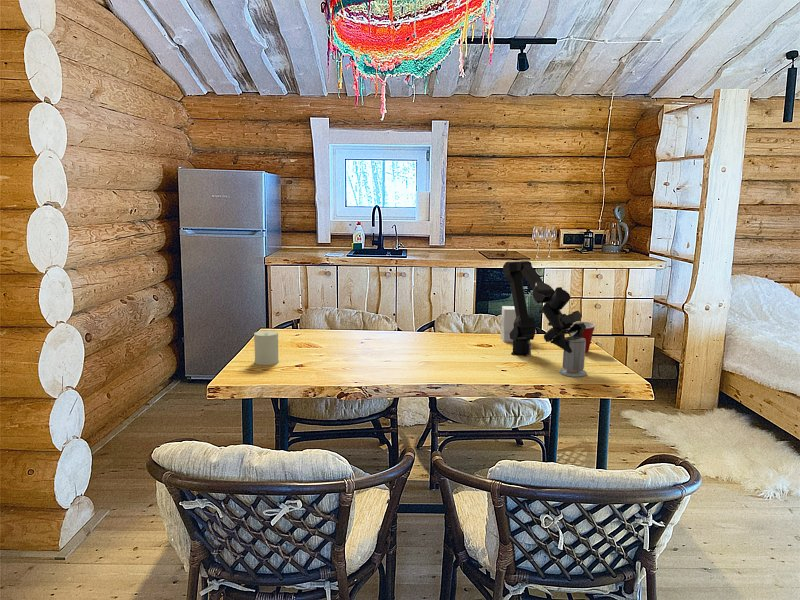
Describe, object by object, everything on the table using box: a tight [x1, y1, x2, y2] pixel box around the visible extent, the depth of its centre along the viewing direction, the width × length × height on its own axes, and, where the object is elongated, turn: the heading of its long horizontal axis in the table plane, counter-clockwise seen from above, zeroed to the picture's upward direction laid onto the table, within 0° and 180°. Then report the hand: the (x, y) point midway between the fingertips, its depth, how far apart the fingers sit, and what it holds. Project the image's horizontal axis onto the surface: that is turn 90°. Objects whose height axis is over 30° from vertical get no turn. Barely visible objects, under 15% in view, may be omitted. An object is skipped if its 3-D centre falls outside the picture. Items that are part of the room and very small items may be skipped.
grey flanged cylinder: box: [562, 335, 586, 371], centre depth 235 cm, size 7×7×11 cm
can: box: [253, 330, 280, 366], centre depth 244 cm, size 9×9×12 cm
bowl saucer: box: [559, 367, 587, 378], centre depth 236 cm, size 10×10×4 cm
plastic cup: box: [570, 321, 597, 354], centre depth 268 cm, size 11×11×12 cm
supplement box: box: [500, 305, 516, 343], centre depth 287 cm, size 9×9×15 cm
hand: (577, 351), depth 234 cm, fingers closed on grey flanged cylinder, 7 cm apart
